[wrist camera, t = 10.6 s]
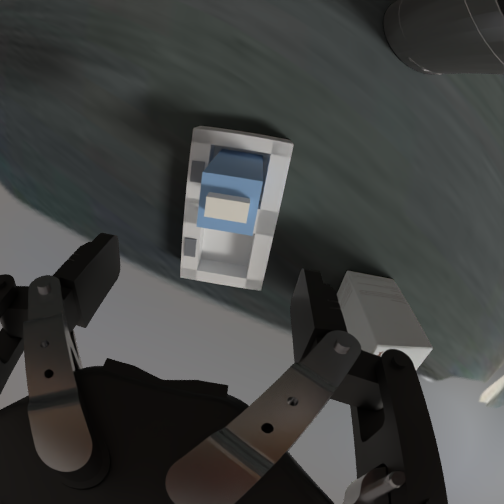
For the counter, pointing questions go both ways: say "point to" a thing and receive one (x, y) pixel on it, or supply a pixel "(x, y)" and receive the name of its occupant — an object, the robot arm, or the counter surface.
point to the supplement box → (381, 317)
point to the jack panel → (226, 243)
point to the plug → (231, 192)
